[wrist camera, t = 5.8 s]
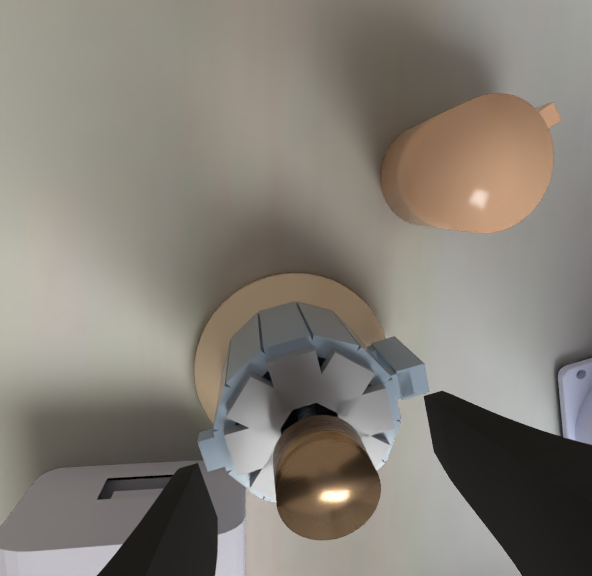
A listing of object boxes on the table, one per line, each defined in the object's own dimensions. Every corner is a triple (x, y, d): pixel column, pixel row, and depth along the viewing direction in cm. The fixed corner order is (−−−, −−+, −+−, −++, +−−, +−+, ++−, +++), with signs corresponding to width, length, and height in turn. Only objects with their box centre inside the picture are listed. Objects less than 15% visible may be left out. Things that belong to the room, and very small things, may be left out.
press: (369, 249, 17) (421, 268, 12) (403, 420, 20) (460, 499, 14) (169, 302, 17) (133, 347, 12) (227, 472, 19) (219, 575, 14)
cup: (411, 244, 18) (466, 258, 13) (362, 160, 17) (403, 145, 12) (514, 173, 18) (605, 162, 13) (471, 84, 16) (554, 40, 12)
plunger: (331, 320, 17) (390, 404, 10) (351, 404, 18) (417, 534, 11) (237, 346, 16) (229, 451, 10) (262, 430, 17) (272, 581, 10)
